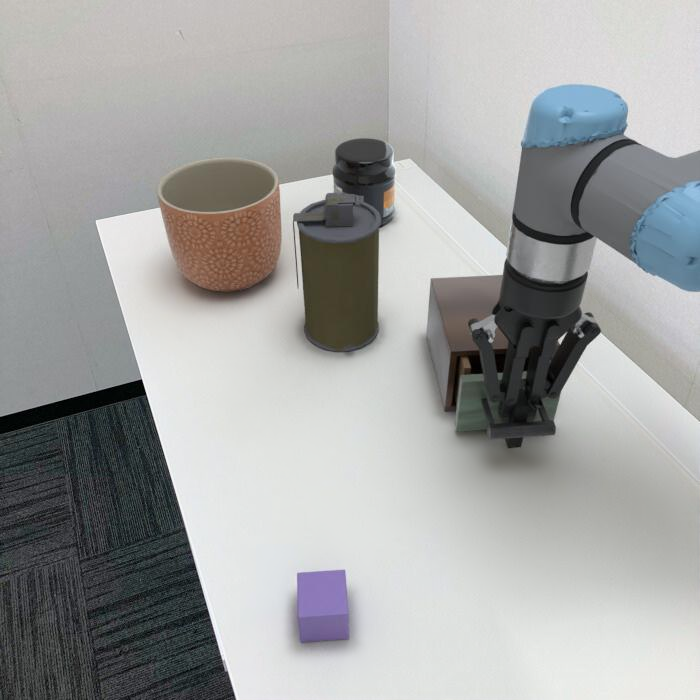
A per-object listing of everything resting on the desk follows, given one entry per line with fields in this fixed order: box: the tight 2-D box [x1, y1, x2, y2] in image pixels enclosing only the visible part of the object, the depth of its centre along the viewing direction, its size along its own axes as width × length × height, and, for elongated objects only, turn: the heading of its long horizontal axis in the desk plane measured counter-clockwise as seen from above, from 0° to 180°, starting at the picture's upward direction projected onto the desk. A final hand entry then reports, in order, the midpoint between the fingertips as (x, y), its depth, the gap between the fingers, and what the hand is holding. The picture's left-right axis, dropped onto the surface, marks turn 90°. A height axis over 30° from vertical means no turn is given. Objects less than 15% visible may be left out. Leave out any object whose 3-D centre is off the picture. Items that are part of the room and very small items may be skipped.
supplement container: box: [332, 137, 397, 226], centre depth 118 cm, size 10×10×12 cm
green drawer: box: [453, 352, 562, 440], centre depth 83 cm, size 19×11×8 cm, turn 4°
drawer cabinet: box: [426, 274, 561, 412], centre depth 88 cm, size 15×13×10 cm
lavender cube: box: [296, 569, 350, 643], centre depth 64 cm, size 4×4×4 cm
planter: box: [156, 156, 283, 293], centre depth 104 cm, size 17×17×15 cm
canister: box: [292, 192, 381, 352], centre depth 92 cm, size 11×10×20 cm
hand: (511, 438), depth 80 cm, fingers closed
